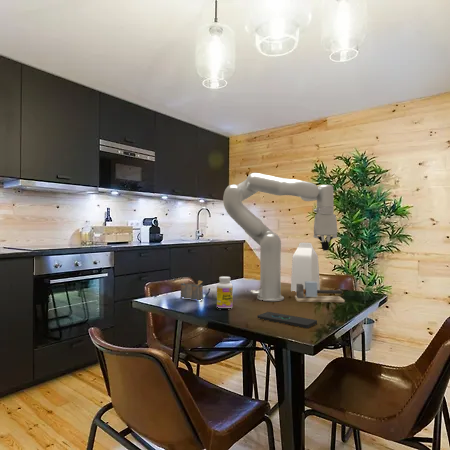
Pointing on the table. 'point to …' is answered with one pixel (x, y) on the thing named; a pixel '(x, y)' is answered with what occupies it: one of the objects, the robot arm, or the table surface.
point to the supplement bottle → (224, 293)
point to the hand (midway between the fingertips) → (325, 250)
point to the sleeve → (311, 288)
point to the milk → (304, 266)
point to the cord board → (319, 298)
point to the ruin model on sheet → (192, 290)
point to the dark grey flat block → (288, 319)
